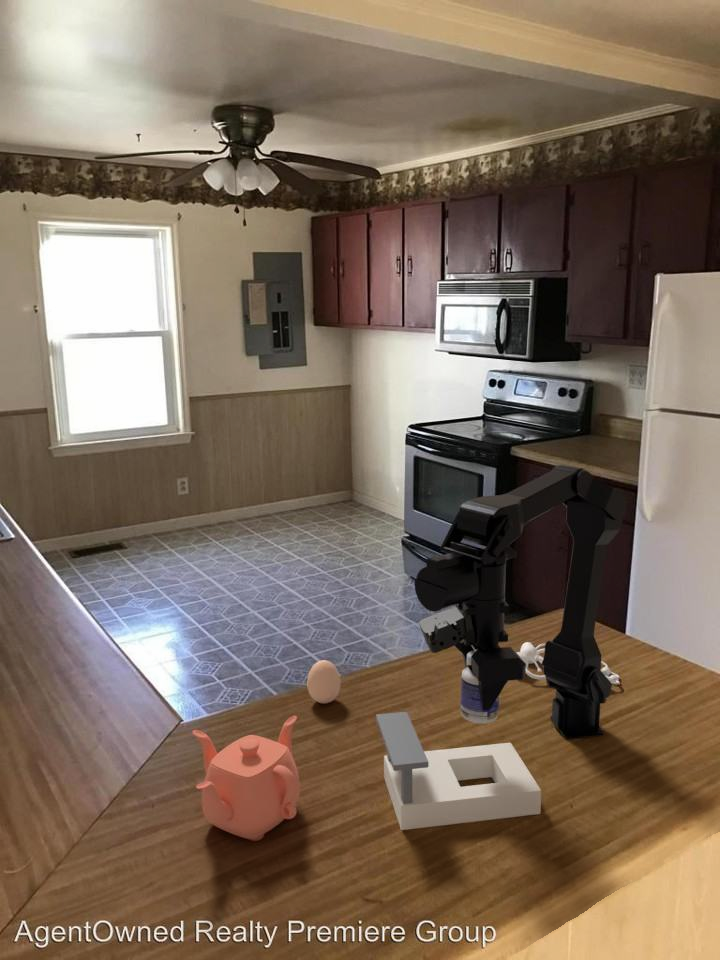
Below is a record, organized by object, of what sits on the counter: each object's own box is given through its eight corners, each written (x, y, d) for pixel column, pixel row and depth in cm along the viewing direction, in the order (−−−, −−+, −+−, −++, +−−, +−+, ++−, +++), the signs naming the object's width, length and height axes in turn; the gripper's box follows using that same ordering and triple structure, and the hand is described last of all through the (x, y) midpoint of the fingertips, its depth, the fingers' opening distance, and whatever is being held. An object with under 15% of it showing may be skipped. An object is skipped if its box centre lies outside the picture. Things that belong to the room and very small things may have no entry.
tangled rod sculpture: (628, 677, 147) (631, 656, 146) (609, 704, 134) (611, 681, 134) (528, 652, 156) (530, 632, 156) (502, 675, 144) (503, 654, 144)
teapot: (201, 863, 97) (195, 783, 95) (197, 795, 111) (191, 724, 108) (316, 842, 100) (313, 765, 98) (299, 779, 114) (296, 710, 112)
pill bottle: (497, 726, 107) (499, 665, 105) (458, 722, 108) (460, 662, 106) (499, 708, 112) (501, 649, 110) (462, 704, 113) (463, 646, 111)
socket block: (508, 762, 117) (510, 701, 115) (541, 816, 105) (544, 749, 103) (376, 776, 114) (375, 714, 112) (394, 833, 102) (393, 765, 100)
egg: (330, 713, 133) (329, 671, 131) (301, 705, 135) (300, 664, 134) (347, 698, 137) (346, 657, 136) (318, 691, 140) (317, 651, 139)
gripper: (411, 574, 114) (409, 674, 117) (441, 622, 96) (439, 739, 99) (485, 570, 116) (482, 669, 119) (529, 617, 98) (524, 732, 101)
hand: (480, 699), depth 110 cm, fingers closed on pill bottle, 5 cm apart
